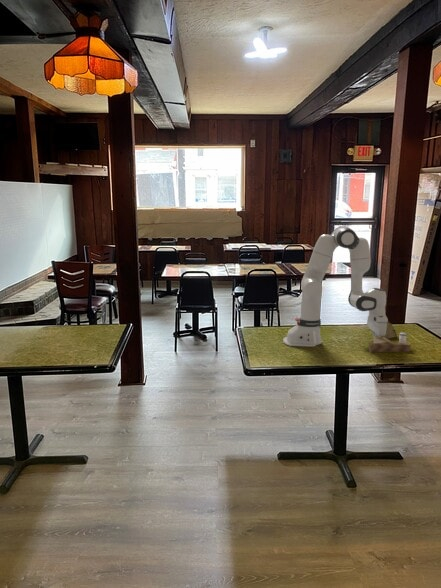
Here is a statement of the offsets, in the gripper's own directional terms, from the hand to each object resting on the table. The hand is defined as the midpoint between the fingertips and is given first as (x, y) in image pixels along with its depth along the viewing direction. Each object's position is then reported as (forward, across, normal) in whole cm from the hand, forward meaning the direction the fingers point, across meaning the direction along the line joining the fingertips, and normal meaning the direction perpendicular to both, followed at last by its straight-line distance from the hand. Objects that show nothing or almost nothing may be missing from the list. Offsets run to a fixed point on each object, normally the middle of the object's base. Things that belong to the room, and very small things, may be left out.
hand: (375, 338), depth 252 cm
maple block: (+2, +10, 0) cm, 10 cm away
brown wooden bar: (+2, +15, +2) cm, 16 cm away
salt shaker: (+2, +9, +12) cm, 15 cm away
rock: (+2, -9, +12) cm, 15 cm away
